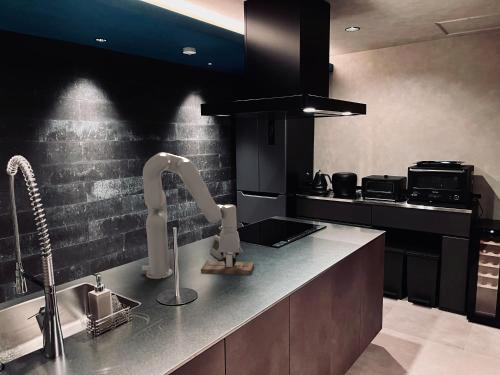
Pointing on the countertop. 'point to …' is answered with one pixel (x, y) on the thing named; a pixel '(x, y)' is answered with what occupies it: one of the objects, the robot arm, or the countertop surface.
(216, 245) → the digital clock
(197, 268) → the countertop surface
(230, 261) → the fader knob
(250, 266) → the console board
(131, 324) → the countertop surface
